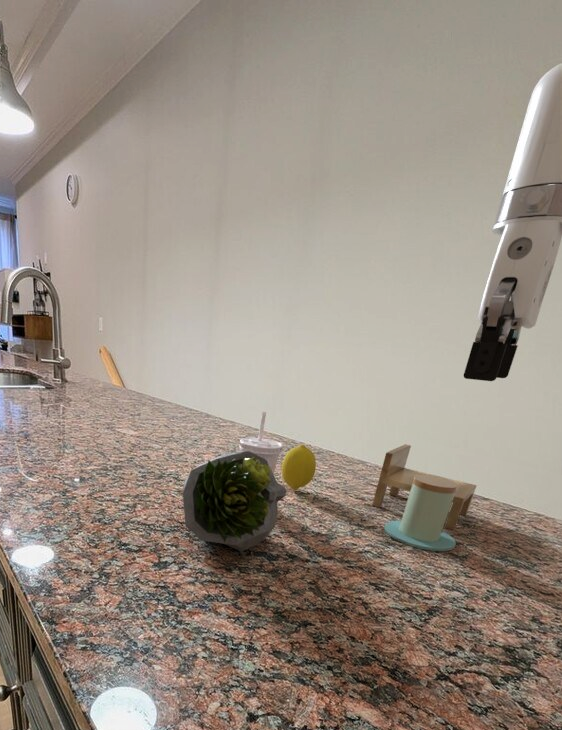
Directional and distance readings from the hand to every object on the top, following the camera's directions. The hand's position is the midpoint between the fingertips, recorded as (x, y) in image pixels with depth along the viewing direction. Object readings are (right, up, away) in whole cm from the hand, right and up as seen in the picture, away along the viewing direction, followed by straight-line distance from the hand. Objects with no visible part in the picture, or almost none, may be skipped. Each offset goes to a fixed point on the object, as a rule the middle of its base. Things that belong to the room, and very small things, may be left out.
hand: (485, 378), depth 55 cm
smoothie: (-26, -15, +14) cm, 34 cm away
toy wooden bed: (+2, -16, +18) cm, 24 cm away
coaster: (-4, -20, +8) cm, 22 cm away
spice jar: (-4, -20, +8) cm, 21 cm away
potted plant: (-31, -21, +1) cm, 37 cm away
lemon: (-18, -13, +22) cm, 31 cm away
